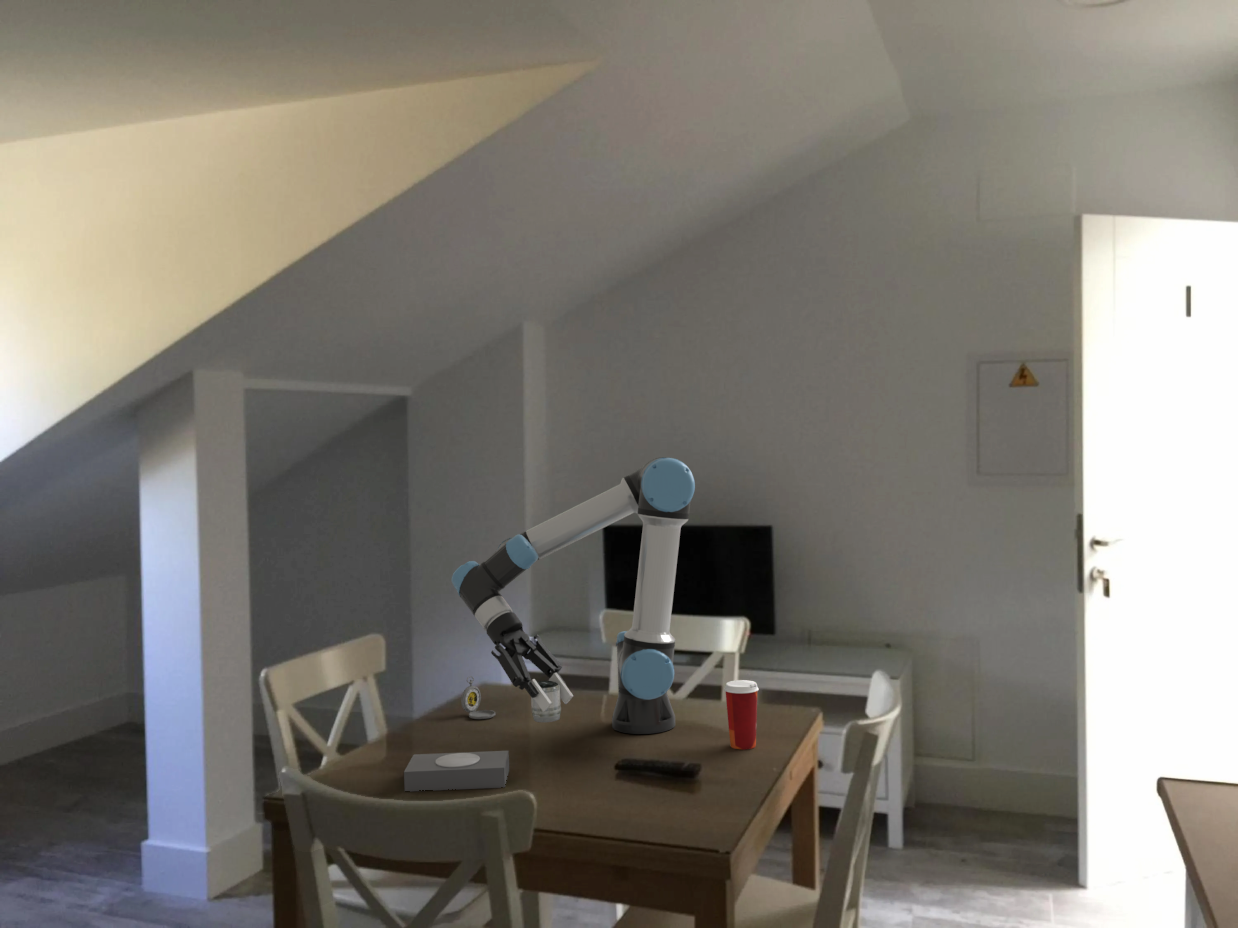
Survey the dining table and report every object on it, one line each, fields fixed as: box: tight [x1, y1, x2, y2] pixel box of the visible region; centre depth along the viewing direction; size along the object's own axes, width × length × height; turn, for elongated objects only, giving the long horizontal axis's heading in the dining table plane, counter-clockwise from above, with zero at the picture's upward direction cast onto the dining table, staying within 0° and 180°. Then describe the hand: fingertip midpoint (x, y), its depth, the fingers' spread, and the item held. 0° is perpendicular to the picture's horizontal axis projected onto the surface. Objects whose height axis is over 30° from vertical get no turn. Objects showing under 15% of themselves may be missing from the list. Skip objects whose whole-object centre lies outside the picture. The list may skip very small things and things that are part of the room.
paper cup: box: [723, 679, 760, 751], centre depth 242 cm, size 8×8×14 cm
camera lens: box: [530, 680, 562, 723], centre depth 234 cm, size 6×6×8 cm
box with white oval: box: [403, 750, 510, 792], centre depth 224 cm, size 20×12×4 cm, turn 92°
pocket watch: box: [460, 675, 496, 720], centre depth 276 cm, size 8×8×10 cm
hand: (558, 703), depth 231 cm, fingers closed on camera lens, 6 cm apart
